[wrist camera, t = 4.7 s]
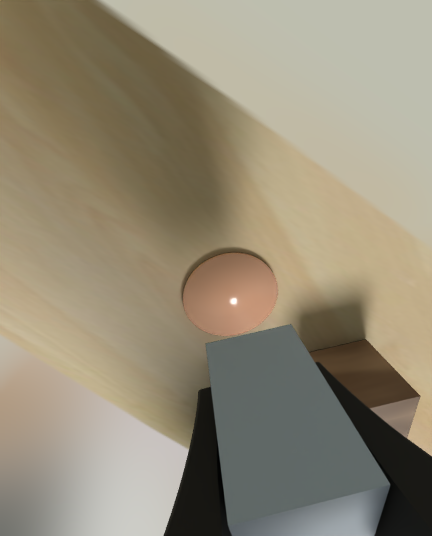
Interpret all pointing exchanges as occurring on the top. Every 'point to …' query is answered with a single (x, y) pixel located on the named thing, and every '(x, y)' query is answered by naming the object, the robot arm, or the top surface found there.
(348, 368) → the rod housing
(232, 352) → the block
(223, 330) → the plate
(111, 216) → the top surface
